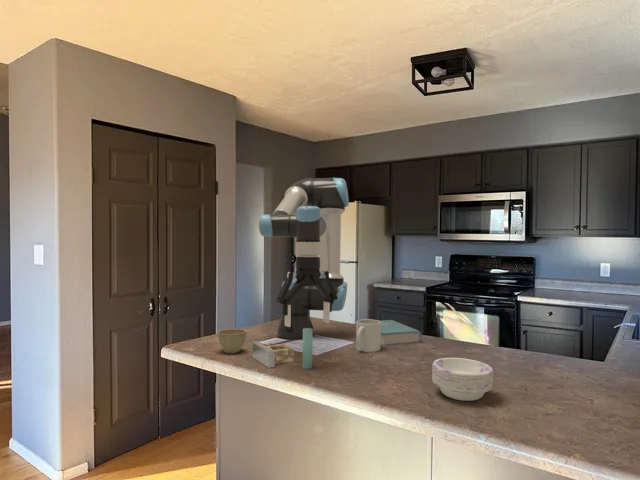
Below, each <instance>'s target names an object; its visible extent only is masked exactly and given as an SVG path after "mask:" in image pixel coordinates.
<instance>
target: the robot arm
mask: <svg viewBox="0 0 640 480" xmlns="http://www.w3.org/2000/svg"><path fill="white" fill-rule="evenodd" d="M347 186H348V185H347V182H346V180H345V179H344V178H341V177H317V178H313V177H310V178H309V177H307V178H304V179H301V180H299V181H297V182H294V183H293V184H292V185H291V186H289V187H288V188H287V189H286V191H285V192H284V196H283V197H284V198H283V199H282V200H281V202H280V203H279V204H278V206H277V207H276V208H275V210H274V211H273V212H272V213H271V214H262V215H260V217H259V219H258V220H259V221H258V230H259V234H260V235H261V236H263V237H265V238H266V237H268V238H269V237H270V238H296V240H295V241H296V242H295V243H296V244H295V254H296V255H297V256H296V258H295V272H290V271H287V272H286V274H285V279H284V281H283V282H282V284H281V289H280V291H279V293H278V294H277V298H276V299H275V301H276V303H278V304H281V309H280V311H281V314H280V315H281V317H280V320H279V323H278V326H277V329H276V336H277V337H279V338H282V339H287V340H289V339H290V340H303V329H304V328H311V329H312V337H314V336H315V330H314V329H315V328H314V326H313V323H312V320H311V317H310V315H311V314H310V313H311V311H323V315H322V317H323V318H322V319H323V321H322V322H323V323H326V324H330V323H331V322H330V321H331V319H330V318H331V317H330V316H331V314H330V313H332V312H336V311H337V312H339V311H343V309H344V307H345V305H346V304H345V303H346V298H347V293H348V283H347V282H346V281H344V276H343V275H342V274H341V240H342V239H341V235H342V233H341V232H342V231H341V229H342V214H343V213H345V212H346V207H349V191H348V187H347Z"/></svg>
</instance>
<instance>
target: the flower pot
mask: <svg viewBox="0 0 640 480" xmlns="http://www.w3.org/2000/svg"><path fill="white" fill-rule="evenodd" d="M246 336H247V330H246V329H243V328H227V329H220V330H218V331H217V338H218V341H219V343H220V346H221V348H222V350H223V351H224V353H226V354H236V353H240V351H241V350H242V348H243V346H244V343H245V341H246V338H247V337H246Z"/></svg>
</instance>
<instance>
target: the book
mask: <svg viewBox="0 0 640 480" xmlns="http://www.w3.org/2000/svg"><path fill="white" fill-rule="evenodd" d="M379 321H380V322H381V346H392V345H403V344H416V343H417V344H418V343H421V342H422V332H421V331H420V330H418V329H417V328H416V329H415V328H414V327H410V326H408V325H405V324H404V323H401V322H398V321H395V320H393V319H387V320H386V319H385V320H383V319H382V320H379Z"/></svg>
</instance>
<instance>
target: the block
mask: <svg viewBox="0 0 640 480" xmlns="http://www.w3.org/2000/svg"><path fill="white" fill-rule="evenodd" d="M266 346H267V347H268V348H270V349H272V350H273V351H275V365H276V364H279V365H280V364H284V363H291V362H294V360H295V359H294V356H295V355H294V348H292V347H290V346H288V345H287V344H286V343H281V344H280V343H279V344H273V345H266Z"/></svg>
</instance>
